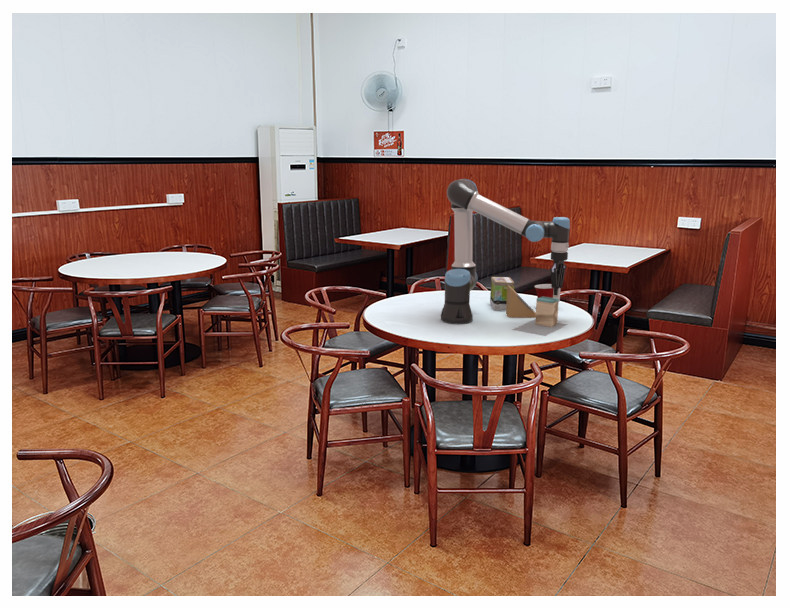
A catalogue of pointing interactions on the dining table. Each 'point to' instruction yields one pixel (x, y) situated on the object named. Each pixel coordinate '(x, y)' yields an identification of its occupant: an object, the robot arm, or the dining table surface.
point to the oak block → (546, 311)
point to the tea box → (500, 292)
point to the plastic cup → (544, 290)
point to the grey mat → (538, 328)
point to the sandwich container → (517, 306)
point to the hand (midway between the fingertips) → (556, 301)
